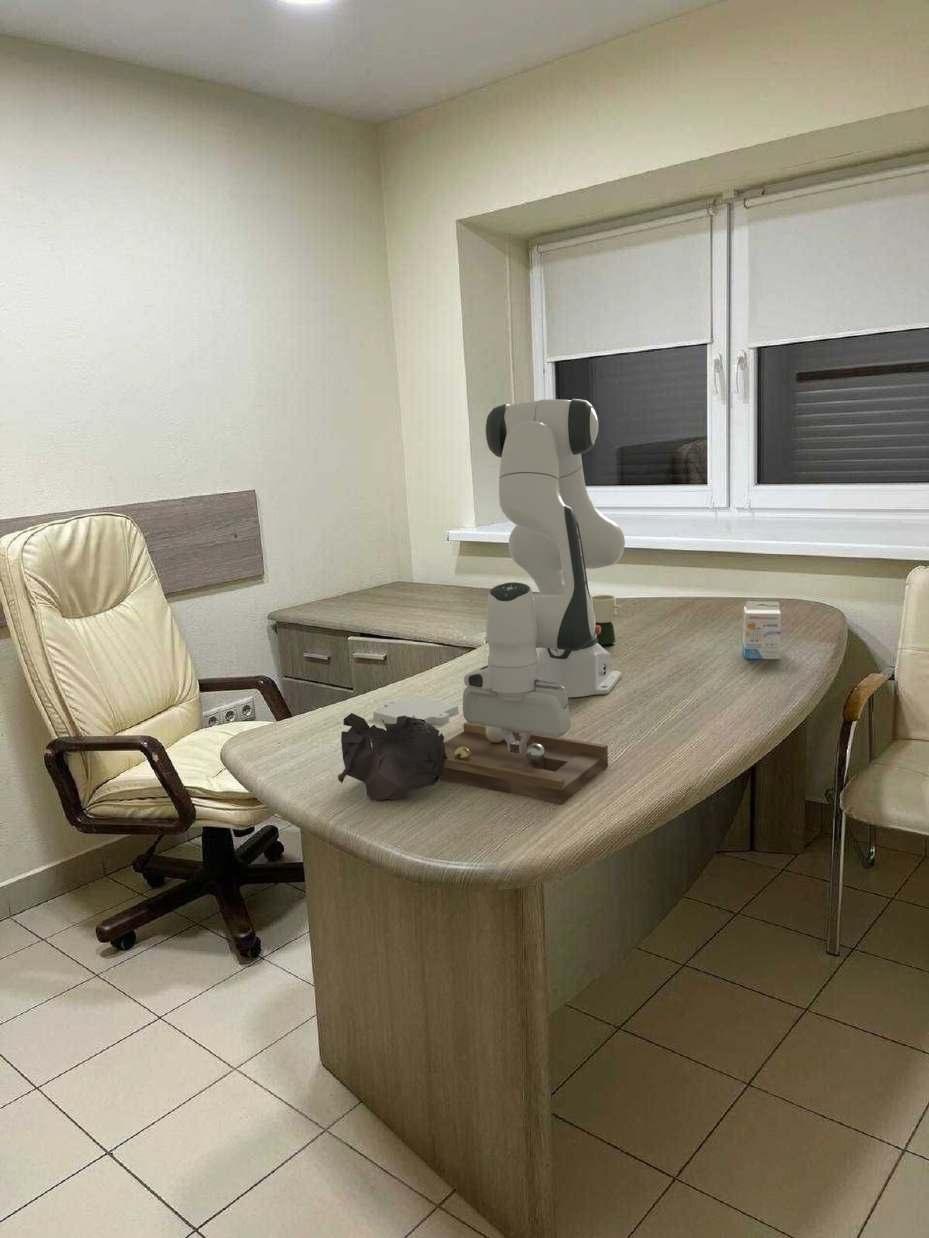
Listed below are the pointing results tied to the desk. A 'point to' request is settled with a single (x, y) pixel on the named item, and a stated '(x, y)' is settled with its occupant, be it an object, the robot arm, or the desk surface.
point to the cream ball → (494, 734)
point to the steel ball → (535, 753)
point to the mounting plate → (417, 710)
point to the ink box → (761, 630)
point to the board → (524, 765)
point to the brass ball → (462, 754)
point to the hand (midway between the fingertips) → (517, 752)
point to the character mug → (605, 617)
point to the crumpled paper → (392, 756)
